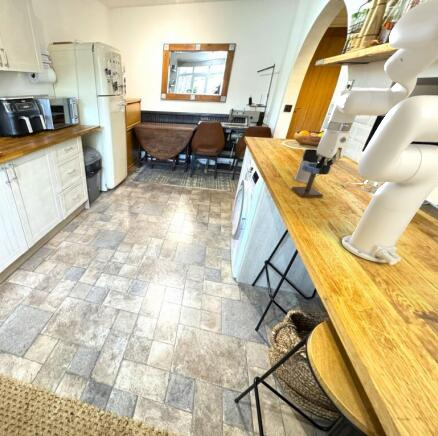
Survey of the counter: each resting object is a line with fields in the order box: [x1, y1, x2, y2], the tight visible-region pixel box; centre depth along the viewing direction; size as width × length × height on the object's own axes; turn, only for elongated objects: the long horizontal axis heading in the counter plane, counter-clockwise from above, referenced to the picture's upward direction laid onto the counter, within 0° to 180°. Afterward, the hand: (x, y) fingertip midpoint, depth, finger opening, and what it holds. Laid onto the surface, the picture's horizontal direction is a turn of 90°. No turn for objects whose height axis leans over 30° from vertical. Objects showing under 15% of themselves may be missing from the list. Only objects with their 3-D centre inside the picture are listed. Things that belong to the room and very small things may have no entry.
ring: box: [302, 162, 332, 175], centre depth 103 cm, size 10×10×2 cm
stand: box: [291, 173, 324, 199], centre depth 107 cm, size 9×9×12 cm
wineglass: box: [343, 177, 383, 193], centre depth 112 cm, size 7×7×12 cm
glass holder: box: [293, 148, 335, 184], centre depth 119 cm, size 9×14×15 cm, turn 38°
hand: (320, 172), depth 100 cm, fingers closed on ring, 2 cm apart
